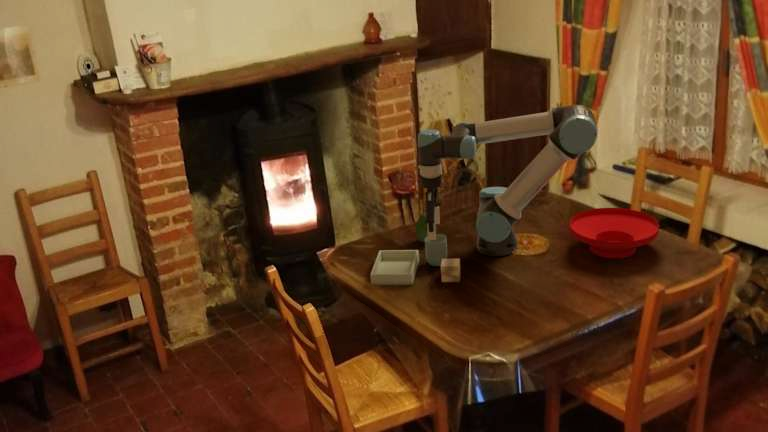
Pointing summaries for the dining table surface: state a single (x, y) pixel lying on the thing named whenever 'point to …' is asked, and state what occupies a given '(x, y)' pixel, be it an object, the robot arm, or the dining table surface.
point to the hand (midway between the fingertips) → (434, 231)
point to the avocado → (422, 228)
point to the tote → (395, 267)
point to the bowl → (614, 230)
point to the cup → (436, 250)
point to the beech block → (450, 270)
